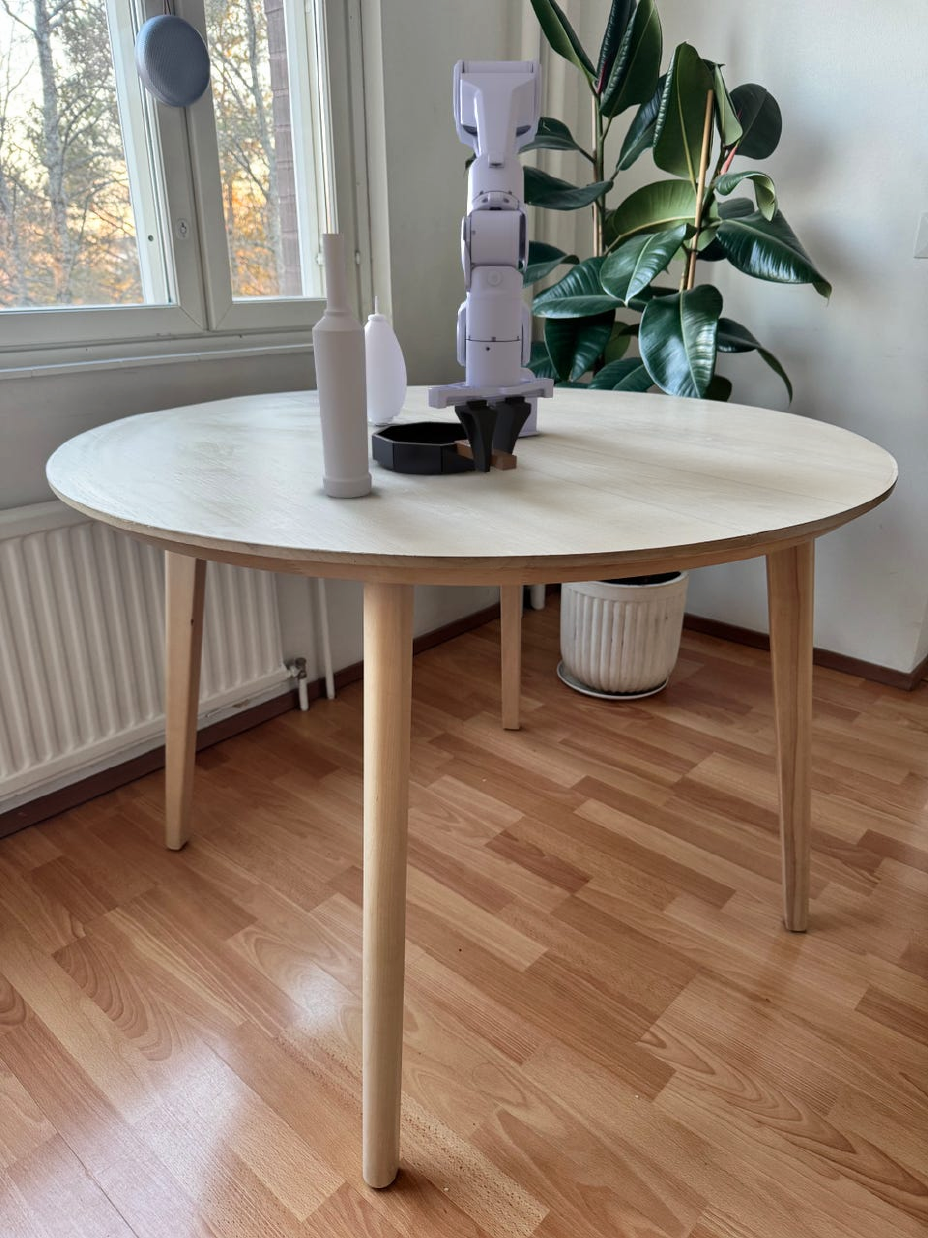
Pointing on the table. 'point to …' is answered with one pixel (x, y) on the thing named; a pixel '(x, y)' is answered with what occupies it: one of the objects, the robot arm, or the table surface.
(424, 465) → the pan
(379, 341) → the sauce bottle
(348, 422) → the bottle
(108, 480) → the table surface
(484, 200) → the robot arm
